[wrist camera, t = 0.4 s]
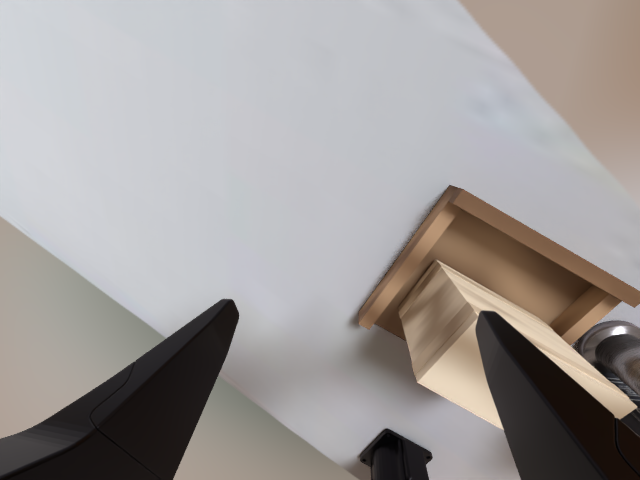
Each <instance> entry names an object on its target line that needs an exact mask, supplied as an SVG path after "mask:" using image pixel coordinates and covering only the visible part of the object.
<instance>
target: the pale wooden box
mask: <svg viewBox="0 0 640 480" xmlns="http://www.w3.org/2000/svg"><path fill="white" fill-rule="evenodd" d="M398 309H399V316H400V319H401V321H402V325H403V329H404V332H405V336H406V340H407V344H408V348H409V352H410V356H411V360H412V368H413V372H414V375H415V376H416V380H417V383H419V384H421V385H423V386H425V387H426V388H428V389H430V390H432V391H434V392H435V393H437V394H439V395H441V396H443V397H444V398H446V399H448V400H450V401H452V402H453V403H455V404H457V405H459V406H461V407H462V408H464V409H466V410H468V411H470V412H471V413H473V414H475V415H477V416H479V417H480V418H482V419H484V420H486V421H488V422H489V423H491V424H493V425H495V426H497V427H499V428H500V429H502V430H504V429H503V426H502V424H501V421H500V418H499V415H498V412H497V409H496V406H495V404H494V401H493V398H492V395H491V392H490V389H489V386H488V383H487V380H486V376H485V372H484V368H483V363H482V359H481V355H480V350H479V346H478V341H477V337H476V332H475V327H476V323H477V320H478V316H479V313H480V311H482V310H487V311H495V312H497V313H498V314H499V315H500V316H502V317H503V318H504V319H505V320H506V321H507V322H508V323H510V324H511V325H512V326H513V327H514V328H515V329H517V330H518V331H519V332H520V333H521V334H522V335H523V336H525V337H526V338H527V339H528V340H529V341H530V342H531V343H533V344H534V345H535V346H536V347H537V348H538V349H539V350H541V351H542V352H543V353H544V354H545V355H546V356H547V357H549V358H550V359H551V360H552V361H553V362H554V363H556V364H557V365H558V366H559V367H560V368H561V369H562V370H564V371H565V372H566V373H567V374H568V375H569V376H570V377H572V378H573V379H574V380H575V381H576V382H577V383H578V384H580V385H581V386H582V387H583V388H584V389H585V390H586V391H588V392H589V393H590V394H591V395H592V396H593V397H595V398H596V399H597V400H598V401H599V402H600V403H601V404H603V405H604V406H605V407H606V408H607V409H608V410H609V411H611V412H612V413H613V414H614V416H615V418H619V419H621V418H623V417H624V416H626V415H627V414H629V413H630V412H632V411H633V410H634V409H636V408H637V406H636V405H635V404H634V403H633V402H632V401H631V400H630V399H629V397H628V396H627V395H626V394H624V393H623V392H622V391H621V390H620V389H619V388H618V387H617V386H616V385H614V384H613V383H611V382H610V381H609V380H607V379H606V378H605V377H604V376H603V375H602V374H601V373H600V372H599V371H597V370H596V369H595V368H594V367H593V366H592V365H591V364H590V363H589V362H587V361H586V360H585V359H584V358H583V357H582V356H581V355H580V354H579V353H577V352H576V351H575V350H574V349H573V348H572V347H571V346H570V345H569V344H567V343H566V342H565V341H564V340H563V339H562V338H561V337H560V336H559V335H557V334H556V333H555V332H554V331H553V329H552V328H551V327H550V326H548V325H547V324H546V323H545V322H543V321H542V320H541V319H540V318H538V317H537V316H535V315H533V314H531V313H529V312H528V311H526V310H524V309H522V308H521V307H519V306H517V305H515V304H514V303H512V302H510V301H508V300H507V299H505V298H503V297H501V296H500V295H498V294H496V293H494V292H493V291H491V290H489V289H487V288H485V287H484V286H482V285H480V284H478V283H477V282H475V281H473V280H471V279H470V278H468V277H466V276H464V275H463V274H461V273H459V272H457V271H456V270H454V269H452V268H450V267H449V266H447V265H445V264H443V263H441V262H440V261H438V260H435V261H434V262H433V264H432V265H431V266H430V267H429V269H428V270H427V271H426V273H425V274H424V275H423V276H422V278H421V279H420V280H419V282H418V283H417V284H416V285H415V287H414V288H413V289H412V290H411V292H410V293H409V294H408V296H407V297H406V298H405V299H404V301H403V302H402V303H401V305H400V306H399V307H398Z"/></svg>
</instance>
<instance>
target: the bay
mask: <svg viewBox="0 0 640 480" xmlns="http://www.w3.org/2000/svg"><path fill="white" fill-rule="evenodd" d="M435 260H438V261H440V262H441V263H443V264H445V265H447V266H449V267H450V268H452V269H454V270H456V271H457V272H459V273H461V274H463V275H464V276H466V277H468V278H470V279H471V280H473V281H475V282H477V283H478V284H480V285H482V286H484V287H485V288H487V289H489V290H491V291H493V292H494V293H496V294H498V295H500V296H501V297H503V298H505V299H507V300H508V301H510V302H512V303H514V304H515V305H517V306H519V307H521V308H522V309H524V310H526V311H528V312H529V313H531V314H533V315H535V316H537V317H538V318H540V319H541V320H542V321H543V322H545V323H546V324H547V325H548V326H550V327H551V328H552V329H553V331H554V332H555V333H556V334H557V335H559V336H560V337H561V338H562V339H563V340H564V341H565V342H566V343H567V344H569V345H572V344H573V343H574V342H575V341H576V340H577V339H578V338H580V337H581V336H582V335H583V334H584V333H585V332H587V331H588V330H589V329H590V328H591V327H592V326H594V325H595V324H596V323H597V322H598V321H599V320H601V319H602V318H603V317H604V316H605V315H606V314H608V313H609V312H610V311H611V310H612V309H613V308H615V307H616V306H617V305H618V304H619V303H620V302H622V301H623V302H625V303H627V304H629V305H630V306H632V307H634V308H635V307H636V306H637V305H638V304H640V291H638V290H637V289H635V288H633V287H632V286H630V285H628V284H626V283H625V282H623V281H621V280H619V279H618V278H616V277H614V276H612V275H611V274H609V273H607V272H606V271H604V270H602V269H600V268H599V267H597V266H595V265H593V264H592V263H590V262H588V261H586V260H585V259H583V258H581V257H580V256H578V255H576V254H574V253H573V252H571V251H569V250H567V249H566V248H564V247H562V246H561V245H559V244H557V243H555V242H554V241H552V240H550V239H548V238H547V237H545V236H543V235H541V234H540V233H538V232H536V231H535V230H533V229H531V228H529V227H528V226H526V225H524V224H522V223H521V222H519V221H517V220H515V219H514V218H512V217H510V216H509V215H507V214H505V213H503V212H502V211H500V210H498V209H496V208H495V207H493V206H491V205H489V204H488V203H486V202H484V201H483V200H481V199H479V198H477V197H476V196H474V195H472V194H470V193H469V192H467V191H465V190H464V189H461V188H458V187H454V186H451V185H450V186H449V187H448V188H447V190H446V191H445V193H444V194H443V195H442V197H441V198H440V200H439V201H438V202H437V204H436V205H435V207H434V208H433V209H432V211H431V212H430V213H429V215H428V216H427V218H426V219H425V220H424V222H423V223H422V225H421V226H420V227H419V229H418V230H417V232H416V233H415V234H414V236H413V237H412V239H411V240H410V241H409V243H408V244H407V246H406V247H405V248H404V250H403V251H402V253H401V254H400V255H399V257H398V258H397V259H396V261H395V262H394V264H393V265H392V266H391V268H390V269H389V271H388V272H387V273H386V275H385V276H384V278H383V279H382V280H381V282H380V283H379V285H378V286H377V287H376V289H375V290H374V292H373V293H372V294H371V296H370V297H369V299H368V300H367V301H366V303H365V304H364V305H363V307H362V308H361V310H360V311H359V324H360V325H361V326H363V327H365V328H367V329H370V328H371V327H372V325H373V324H374V323H375V324H377V325H378V326H380V327H382V328H384V329H386V330H387V331H389V332H391V333H393V334H395V335H396V336H398V337H400V338H402V339H403V340H405V341H407V340H406V336H405V332H404V329H403V325H402V321H401V319H400V316H399V309H398V307H399V306H400V305H401V303H402V302H403V301H404V299H405V298H406V297H407V296H408V294H409V293H410V292H411V290H412V289H413V288H414V287H415V285H416V284H417V283H418V282H419V280H420V279H421V278H422V276H423V275H424V274H425V273H426V271H427V270H428V269H429V267H430V266H431V265H432V264H433V262H434V261H435Z"/></svg>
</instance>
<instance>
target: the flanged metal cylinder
mask: <svg viewBox="0 0 640 480" xmlns="http://www.w3.org/2000/svg"><path fill="white" fill-rule="evenodd" d="M578 352H579V354H580V355H581V356H582V357H583V358H584V359H585V360H586V361H587V362H589V363H590V364H591V365H592V366H593V367H594V368H595V369H596V370H597V371H600V372H604V373H612V374H614V375H615V376H616V377H617V378H619V379H620V380H621V381H622V382H623V383H624V384H626V385H627V386H628V387H629V388H630V389H631V390H633V391H634V392H635V393H636V394H637V395H638V396H640V328H639V327H637V326H635V325H634V324H632V323H629V322H625V321H608V322H604V323H600V324H598V325H596V326H594V327H592V328H590V329H589V330H588V331H587V332H585V333H584V334H583V336H582V337H581V339H580V341H579V343H578Z"/></svg>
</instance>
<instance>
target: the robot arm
mask: <svg viewBox="0 0 640 480" xmlns="http://www.w3.org/2000/svg"><path fill="white" fill-rule="evenodd" d="M238 320H239V312H238V310H237V307H236V305H235V303H234V301H233V300H232V299H222V300H220V301H219V302H217V303H216V304H214V305H213V306H212V307H210V308H209V309H207V310H206V311H205V312H203V313H202V314H200V315H199V316H198V317H196V318H195V319H193V320H192V321H191V322H189V323H188V324H186V325H185V326H184V327H182V328H181V329H179V330H178V331H177V332H175V333H174V334H172V335H171V336H170V337H168V338H167V339H165V340H164V341H163V342H161V343H160V344H158V345H157V346H155V347H154V348H153V349H151V350H150V351H149V352H147V353H146V354H144V355H143V356H141V357H140V358H139V359H137V360H136V362H133V363H131V364H130V365H129V366H127V367H126V368H124V369H123V370H122V371H120V372H119V373H117V374H116V375H114V376H113V377H111V378H110V379H109V380H107V381H106V382H104V383H102V384H101V385H99V386H98V387H96V388H95V389H93V390H92V391H90V392H89V393H87V394H86V395H84V396H82V397H81V398H79V399H78V400H76V401H75V402H73V403H71V404H70V405H69V406H67V407H65V408H63V409H62V410H60V411H59V412H57V413H56V414H54V415H53V416H51V417H50V418H48V419H46V420H44V421H43V422H41V423H39V424H37V425H35V426H33V427H32V428H29V429H27V430H25V431H22V432H20V433H17V434H14V435H11V436H8V437H5V438H1V439H0V480H173V478H174V476H175V473H176V471H177V469H178V466H179V464H180V462H181V460H182V457H183V455H184V453H185V450H186V448H187V446H188V443H189V441H190V439H191V437H192V434H193V432H194V430H195V427H196V425H197V423H198V420H199V418H200V416H201V414H202V411H203V409H204V407H205V404H206V402H207V400H208V397H209V395H210V393H211V391H212V388H213V386H214V384H215V381H216V379H217V377H218V375H219V372H220V370H221V368H222V365H223V363H224V361H225V358H226V356H227V353H228V351H229V348H230V345H231V341H232V338H233V335H234V332H235V329H236V326H237V323H238ZM475 332H476V337H477V341H478V346H479V350H480V355H481V359H482V363H483V368H484V372H485V376H486V380H487V383H488V386H489V389H490V392H491V395H492V398H493V401H494V404H495V406H496V409H497V412H498V415H499V418H500V421H501V424H502V426H503V429H504V432H505V435H506V438H507V441H508V443H509V446H510V449H511V452H512V455H513V458H514V461H515V463H516V466H517V469H518V472H519V475H520V478H521V480H640V436H638V435H637V434H636V433H635V432H634V431H633V430H631V429H630V428H629V427H628V426H627V425H626V424H624V423H623V422H622V421H621V420H620V419H619V418H615V416H614V414H613V413H612V412H611V411H609V410H608V409H607V408H606V407H605V406H604V405H603V404H601V403H600V402H599V401H598V400H597V399H596V398H595V397H593V396H592V395H591V394H590V393H589V392H588V391H586V390H585V389H584V388H583V387H582V386H581V385H580V384H578V383H577V382H576V381H575V380H574V379H573V378H572V377H570V376H569V375H568V374H567V373H566V372H565V371H564V370H562V369H561V368H560V367H559V366H558V365H557V364H556V363H554V362H553V361H552V360H551V359H550V358H549V357H547V356H546V355H545V354H544V353H543V352H542V351H541V350H539V349H538V348H537V347H536V346H535V345H534V344H533V343H531V342H530V341H529V340H528V339H527V338H526V337H525V336H523V335H522V334H521V333H520V332H519V331H518V330H517V329H515V328H514V327H513V326H512V325H511V324H510V323H508V322H507V321H506V320H505V319H504V318H503V317H502V316H500V315H499V314H498V313H497V312H495V311H487V310H482V311H480V313H479V316H478V320H477V323H476V327H475ZM432 458H433V457H432V453H431V452H430V451H428V450H426V449H424V448H422V447H420V446H419V445H417V444H415V443H413V442H411V441H410V440H408V439H406V438H404V437H402V436H400V435H399V434H397V433H395V432H393V431H391V430H389V429H387V430H385V431H384V432H383V433H382V434H381V435H380V436H379V437H378V438H377V439H376V440H375V441H374V442H373V443H372V444H371V445H370V446H369V447H368V448H367V449H366V450H365V451H364V452H363V453H362V454H361V456H360V461H361V462H362V463H364V464H366V465H368V466H370V467H371V480H429V477H428V473H427V468H426V464H427V463H428V462H429V461H431V460H432Z"/></svg>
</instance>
